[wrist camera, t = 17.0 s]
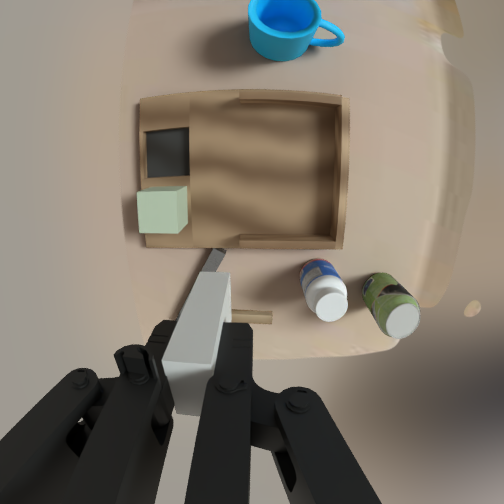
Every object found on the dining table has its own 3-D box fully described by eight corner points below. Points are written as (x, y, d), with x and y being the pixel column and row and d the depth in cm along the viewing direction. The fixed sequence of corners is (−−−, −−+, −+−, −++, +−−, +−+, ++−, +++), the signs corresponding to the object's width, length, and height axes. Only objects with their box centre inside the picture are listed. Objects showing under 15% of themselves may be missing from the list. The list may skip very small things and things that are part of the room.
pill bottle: (341, 274, 40) (362, 307, 31) (314, 297, 41) (328, 334, 32) (319, 249, 39) (337, 278, 30) (291, 274, 40) (300, 309, 31)
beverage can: (377, 309, 42) (406, 354, 31) (347, 289, 41) (374, 335, 30) (400, 280, 40) (437, 319, 29) (372, 257, 39) (408, 295, 28)
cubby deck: (144, 100, 32) (130, 95, 27) (338, 97, 31) (349, 90, 27) (150, 244, 39) (138, 254, 35) (332, 245, 38) (341, 256, 34)
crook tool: (177, 315, 43) (175, 321, 41) (215, 244, 39) (213, 248, 37) (205, 329, 44) (203, 335, 42) (246, 260, 40) (245, 265, 38)
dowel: (195, 305, 43) (193, 310, 41) (272, 310, 43) (272, 315, 41) (196, 314, 43) (194, 319, 42) (271, 318, 43) (271, 324, 42)
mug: (244, 56, 30) (241, 32, 22) (255, 11, 27) (255, -18, 19) (332, 74, 30) (350, 56, 23) (338, 29, 28) (356, 5, 20)
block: (151, 186, 34) (136, 192, 30) (187, 186, 34) (176, 191, 30) (153, 222, 36) (139, 233, 31) (187, 223, 36) (178, 233, 31)
